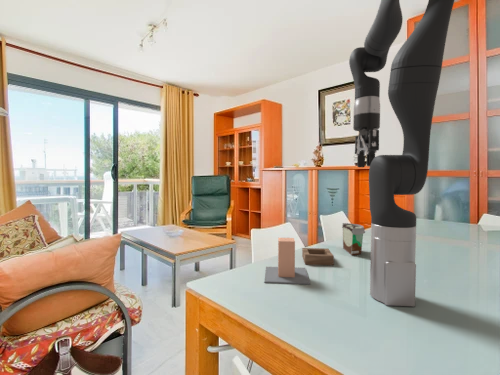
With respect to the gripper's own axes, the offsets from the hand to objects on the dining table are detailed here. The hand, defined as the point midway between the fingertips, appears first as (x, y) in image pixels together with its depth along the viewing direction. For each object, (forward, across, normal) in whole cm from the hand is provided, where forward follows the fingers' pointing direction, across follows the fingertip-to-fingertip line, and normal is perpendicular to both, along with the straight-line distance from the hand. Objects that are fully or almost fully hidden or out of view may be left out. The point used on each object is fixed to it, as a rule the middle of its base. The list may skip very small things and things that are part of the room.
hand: (365, 166), depth 84 cm
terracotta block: (+31, -10, +25) cm, 41 cm away
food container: (+32, +17, -2) cm, 36 cm away
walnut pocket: (+32, +5, +14) cm, 35 cm away
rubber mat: (+31, -10, +25) cm, 41 cm away
